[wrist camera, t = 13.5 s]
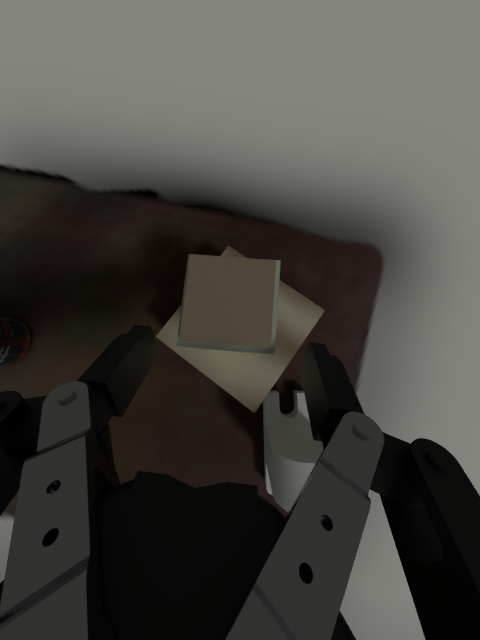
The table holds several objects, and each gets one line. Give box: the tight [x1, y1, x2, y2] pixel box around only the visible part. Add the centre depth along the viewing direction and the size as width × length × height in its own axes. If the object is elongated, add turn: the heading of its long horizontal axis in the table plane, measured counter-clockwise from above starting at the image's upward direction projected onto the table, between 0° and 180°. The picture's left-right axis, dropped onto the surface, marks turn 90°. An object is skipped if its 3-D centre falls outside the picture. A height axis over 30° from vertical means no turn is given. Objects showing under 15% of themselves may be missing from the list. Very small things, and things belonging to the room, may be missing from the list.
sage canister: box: [176, 254, 280, 355], centre depth 16 cm, size 5×5×11 cm
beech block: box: [156, 246, 325, 413], centre depth 24 cm, size 12×12×6 cm
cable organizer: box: [263, 391, 323, 512], centre depth 19 cm, size 5×10×10 cm, turn 0°
